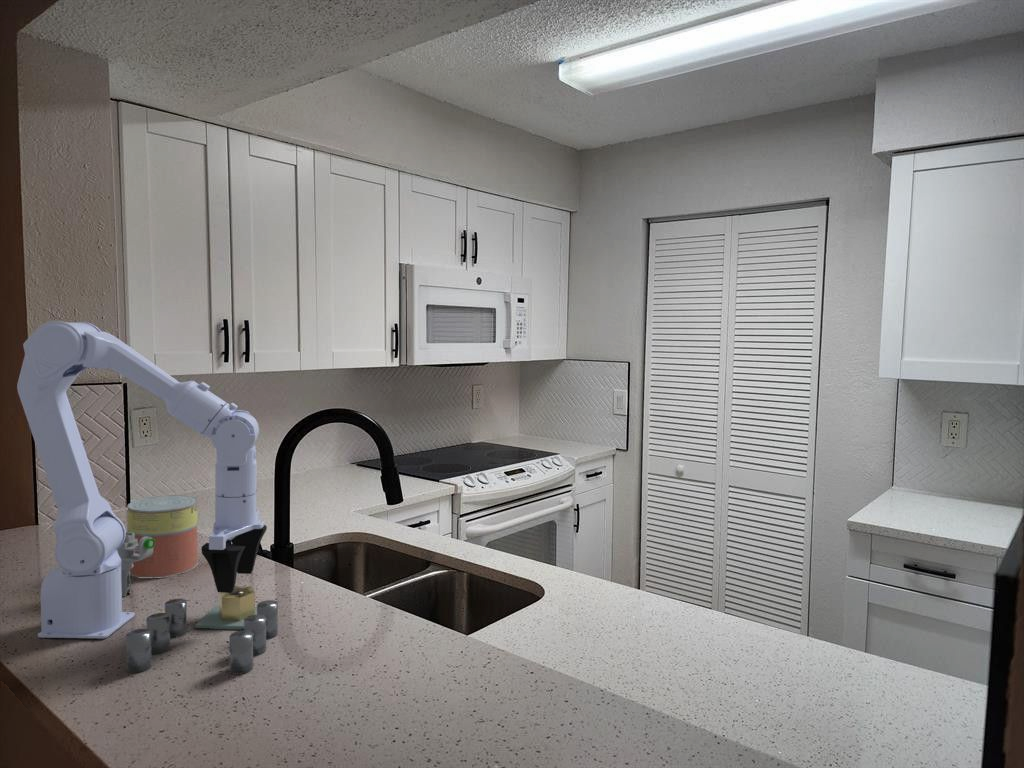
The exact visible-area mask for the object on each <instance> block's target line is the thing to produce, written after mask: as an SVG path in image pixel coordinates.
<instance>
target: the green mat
mask: <svg viewBox="0 0 1024 768" xmlns="http://www.w3.org/2000/svg"><path fill="white" fill-rule="evenodd" d="M255 615H257V606H255ZM195 628H212V629H211V630H241V629H244V619H243V620H241V621H222V619H221V617H220V615H219V605H214V606H213V607H212V608H211V609H210V610H209V611H208V612H207V613H206V614H205V615H204V616H203V617H202V618H201V619H200V620H199V621H197V623H196V624H194V629H195ZM213 628H214V629H213Z"/></svg>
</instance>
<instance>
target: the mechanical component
mask: <svg viewBox="0 0 1024 768" xmlns="http://www.w3.org/2000/svg"><path fill="white" fill-rule="evenodd" d="M154 545H155V540H154V539H152V538H151V537H147V536H145V537H143V538H141V539H140V541H139V543H138V539H135V534H134V533H132V532H128V531H126V537H125V540H124V542H123V544H122V545H121V547H120V548H119V549H117V550H118V555H119V557H120V558H121V585H122V596H125V595H126V596H127V595H128V594H127V593H130V594H131V575H130V569H131V568H133V566H134V565H133V562H138V561H140V560H142V559H145V558H147V557H149V556H151V555H152V554H153V547H154ZM135 551H138V552H139V554H136V553H135ZM126 596H125V597H126Z"/></svg>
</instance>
